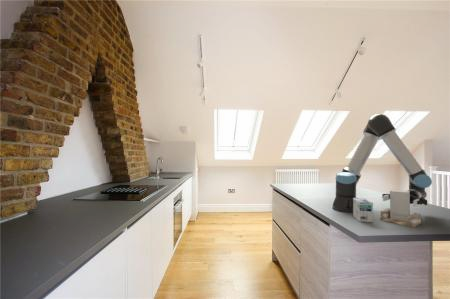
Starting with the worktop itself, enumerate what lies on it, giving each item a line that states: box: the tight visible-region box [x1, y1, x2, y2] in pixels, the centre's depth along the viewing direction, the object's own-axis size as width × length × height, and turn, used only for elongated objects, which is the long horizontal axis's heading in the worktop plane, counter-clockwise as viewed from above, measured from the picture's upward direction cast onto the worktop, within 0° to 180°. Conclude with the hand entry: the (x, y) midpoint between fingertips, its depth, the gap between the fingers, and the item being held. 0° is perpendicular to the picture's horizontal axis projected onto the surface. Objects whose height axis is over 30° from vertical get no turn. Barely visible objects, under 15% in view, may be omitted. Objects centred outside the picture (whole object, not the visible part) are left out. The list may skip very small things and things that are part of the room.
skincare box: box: [389, 189, 411, 222], centre depth 125 cm, size 8×7×16 cm
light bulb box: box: [352, 197, 374, 223], centre depth 128 cm, size 11×7×11 cm, turn 168°
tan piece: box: [379, 207, 422, 228], centre depth 125 cm, size 15×12×5 cm
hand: (398, 200), depth 123 cm, fingers open, 13 cm apart
